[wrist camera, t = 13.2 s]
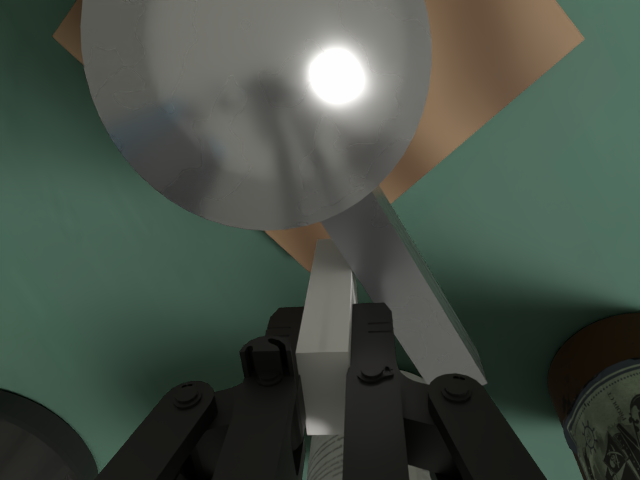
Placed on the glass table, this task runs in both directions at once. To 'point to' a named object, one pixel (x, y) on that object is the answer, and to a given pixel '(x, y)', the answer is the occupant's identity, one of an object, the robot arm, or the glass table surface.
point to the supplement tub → (329, 454)
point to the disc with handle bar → (282, 130)
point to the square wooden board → (445, 82)
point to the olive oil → (601, 397)
